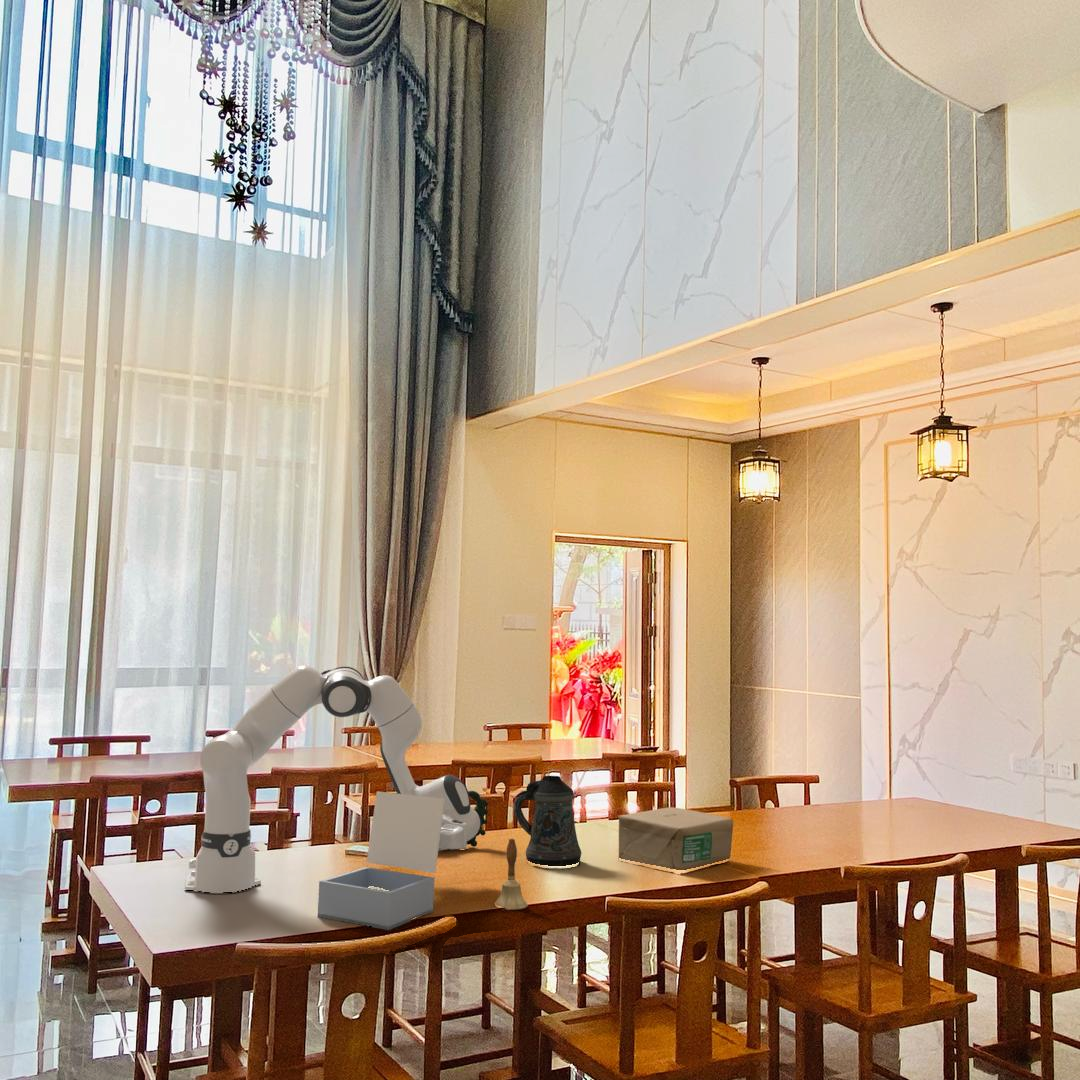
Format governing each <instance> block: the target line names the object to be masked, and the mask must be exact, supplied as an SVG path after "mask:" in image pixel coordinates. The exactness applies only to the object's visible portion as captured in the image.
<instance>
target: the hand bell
mask: <svg viewBox="0 0 1080 1080" xmlns="http://www.w3.org/2000/svg"><path fill="white" fill-rule="evenodd" d="M517 854H518V849H517V845H516V841H515V838H509V839H508V844H507V846H506V853H505V855H506V861H507V867H508V869H507V880H506V881H503V882H502V884H501V890H500V895H499V897H498V898H497V900H495V902H494V904H496V905H498V906H501V907H504V908H505V909H506V910H507V911H508V910H509V911H514V910H523V909H526V908H528V907H529V905H528V902H527V901H526V900H525V898H524V896H523V893H522V888H521V882H519V881H518V880H516V874H515V873H516V871H515V869H516V868H515V867H516V866H515V865H516V861H517V857H518V855H517ZM505 909H504V910H505Z"/></svg>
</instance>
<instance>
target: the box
mask: <svg viewBox="0 0 1080 1080" xmlns="http://www.w3.org/2000/svg"><path fill="white" fill-rule="evenodd" d="M369 886H374V887H379V888H383V889H385V890H389V891H383V890H377V889H371V888H368V887H369ZM434 894H435V877H433V876H426V875H419V874H414V873H407V872H403V871H402V872H401V871H396V870H395V871H393V870H388V869H382V868H376V867H375V868H374V867H370V866H369V867H368V866H364V867H362V868H359V869H355V870H353V871H352V870H351V871H349V872H346V873H342V874H339V875H336V876H332V877H329V878H325V879H323V880H319V882H318V898H317V899H318V900H317V901H318V902H317V918H321V917H322V918H323V919H326V918H327V919H329V920H332V921H337V920H338V922H342V921H344V922H343V923H348V922H349V923H348V924H353V923H355V924H354V925H358V924H361V925H360V926H364V925H368V926H367V927H369V926H372V927H371V928H376V929H379V930H381V929H382V930H385V931H390V930H393V929H395V928H398V927H400V926H402V925H405V924H407V923H410V922H412V921H411V919H413V918H415V917H419V916H422V915H425V916H427V915H429V913H430V914H432V913H433V912H434V901H435V900H434V898H435V897H434V896H435V895H434ZM431 912H432V913H431ZM426 914H427V915H426ZM422 917H423V916H422Z"/></svg>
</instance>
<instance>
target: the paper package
mask: <svg viewBox="0 0 1080 1080" xmlns="http://www.w3.org/2000/svg"><path fill="white" fill-rule="evenodd" d="M733 830H734V819H732V818H730V817H725V816H721V815H717V814H712V813H706V812H703V811H702V812H701V811H697V810H690V809H685V808H679V807H671V806H670V807H664V808H658V809H651V810H646V811H639V812H633V813H629V814H622V815H620V814H619V815H618V859H619V858H621V859H625V860H630V861H635V862H640V863H645V864H650V865H656V866H661V867H666V868H670V869H676V870H687V869H691V868H696V867H700V866H704V865H707V864H712V863H715V862H719V861H723V860H726V859H729V858H730V859H731V856H732V855H731V853H732V843H733V842H732V841H733V834H734V833H733V832H734V831H733Z"/></svg>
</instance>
